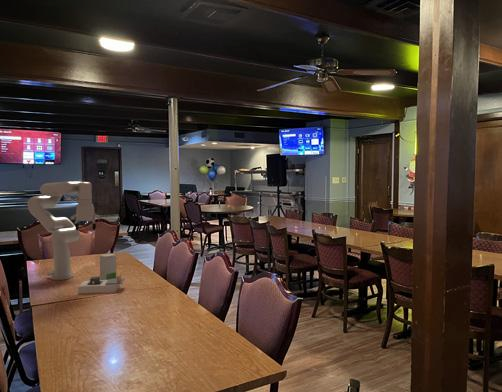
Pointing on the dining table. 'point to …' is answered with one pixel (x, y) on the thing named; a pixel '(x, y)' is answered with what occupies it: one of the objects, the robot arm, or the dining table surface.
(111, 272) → the skincare box
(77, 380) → the dining table surface
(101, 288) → the socket block
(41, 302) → the dining table surface
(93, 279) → the plug
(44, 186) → the robot arm
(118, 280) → the shutter
